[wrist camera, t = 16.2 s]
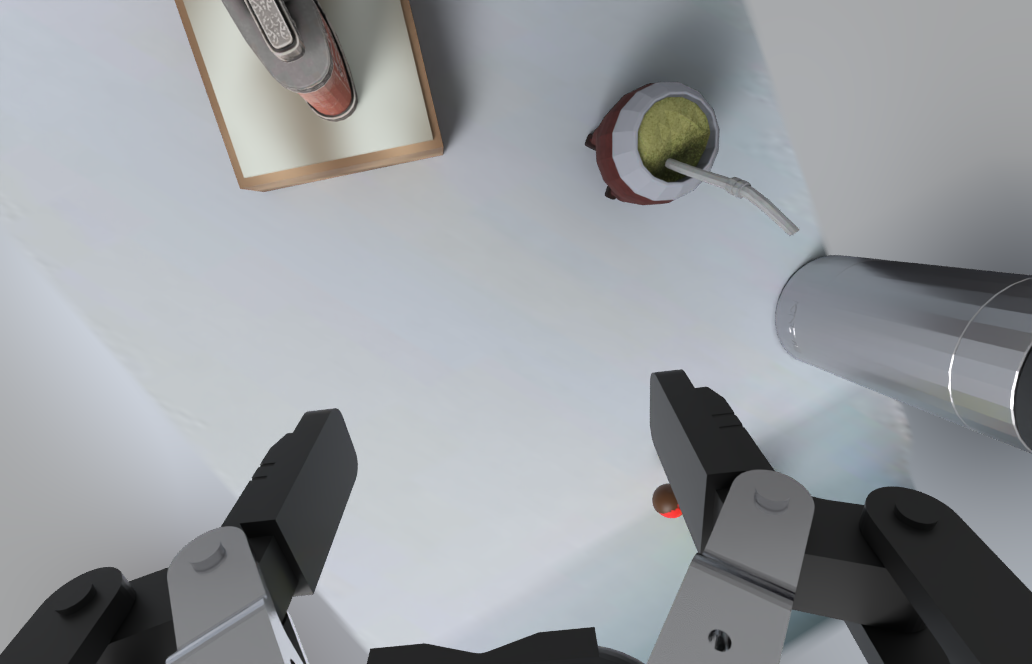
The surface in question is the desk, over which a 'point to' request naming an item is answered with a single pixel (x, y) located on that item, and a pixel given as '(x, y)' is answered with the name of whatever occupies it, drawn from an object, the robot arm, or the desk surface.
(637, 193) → the mate gourd
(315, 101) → the lighter
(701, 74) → the desk surface
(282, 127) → the wooden flat block
